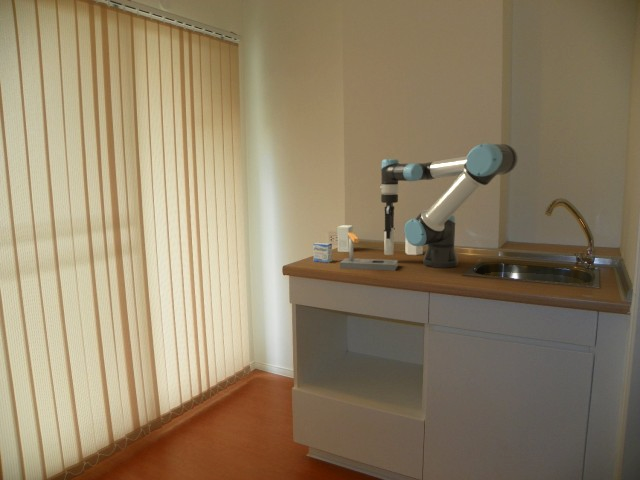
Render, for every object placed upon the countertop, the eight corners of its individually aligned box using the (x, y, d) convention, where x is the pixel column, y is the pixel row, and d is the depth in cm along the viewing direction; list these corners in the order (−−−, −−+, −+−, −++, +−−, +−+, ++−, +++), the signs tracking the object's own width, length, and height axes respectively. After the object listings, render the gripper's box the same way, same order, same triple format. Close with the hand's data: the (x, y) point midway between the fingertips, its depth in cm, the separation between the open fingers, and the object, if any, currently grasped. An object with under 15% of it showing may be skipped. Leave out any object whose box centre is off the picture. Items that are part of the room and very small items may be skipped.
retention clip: (359, 242, 201) (359, 238, 200) (352, 242, 200) (352, 238, 200) (353, 236, 218) (353, 232, 218) (347, 236, 218) (347, 232, 217)
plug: (394, 253, 228) (394, 226, 226) (392, 255, 224) (393, 227, 222) (384, 253, 229) (385, 225, 227) (383, 254, 225) (384, 227, 223)
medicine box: (313, 261, 232) (312, 243, 231) (317, 260, 236) (317, 242, 235) (328, 263, 229) (327, 244, 227) (332, 261, 233) (332, 243, 231)
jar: (413, 255, 242) (413, 231, 240) (401, 253, 249) (402, 230, 247) (426, 253, 247) (426, 230, 245) (414, 251, 254) (415, 228, 252)
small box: (341, 248, 265) (341, 224, 262) (353, 249, 262) (353, 225, 260) (337, 251, 257) (337, 226, 255) (348, 252, 255) (348, 227, 253)
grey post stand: (397, 266, 218) (398, 236, 216) (395, 271, 208) (395, 240, 206) (345, 264, 224) (344, 235, 222) (340, 269, 215) (339, 238, 213)
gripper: (384, 192, 231) (383, 241, 235) (378, 195, 215) (378, 247, 218) (400, 192, 229) (399, 241, 233) (395, 195, 213) (394, 248, 216)
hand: (389, 244), depth 225 cm, fingers closed on plug, 4 cm apart
